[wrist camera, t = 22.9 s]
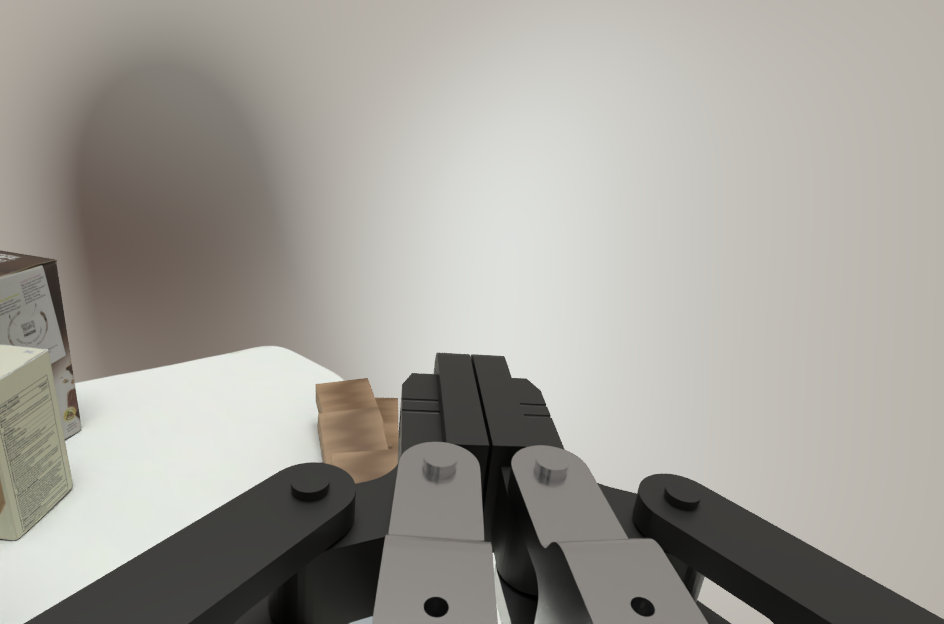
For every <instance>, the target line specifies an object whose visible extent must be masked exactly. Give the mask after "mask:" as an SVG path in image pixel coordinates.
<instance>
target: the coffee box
mask: <svg viewBox="0 0 944 624" xmlns="http://www.w3.org/2000/svg"><path fill="white" fill-rule="evenodd" d="M56 263H57V260H55V259H49V258H42V257H36V256H30V255H23V254H18V253H12V252H6V251H0V344H1V345H12V346H21V347H30V348H38V349H48V351H49V356H50V361H51V367H52V372H53V378H54V384H55V389H56V394H57V400H58V406H59V411H60V417H61V423H62V428H63V433H64V439H66V438H68V437H70V436H72V435H73V434H75V433H77V432H79V431H80V430H81V421H80V416H79V409H78V403H77V396H76V390H75V382H74V376H73V371H72V364H71V357H70V350H69V343H68V338H67V331H66V324H65V317H64V311H63V304H62V297H61V291H60V284H59V277H58V271H57V265H56Z"/></svg>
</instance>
